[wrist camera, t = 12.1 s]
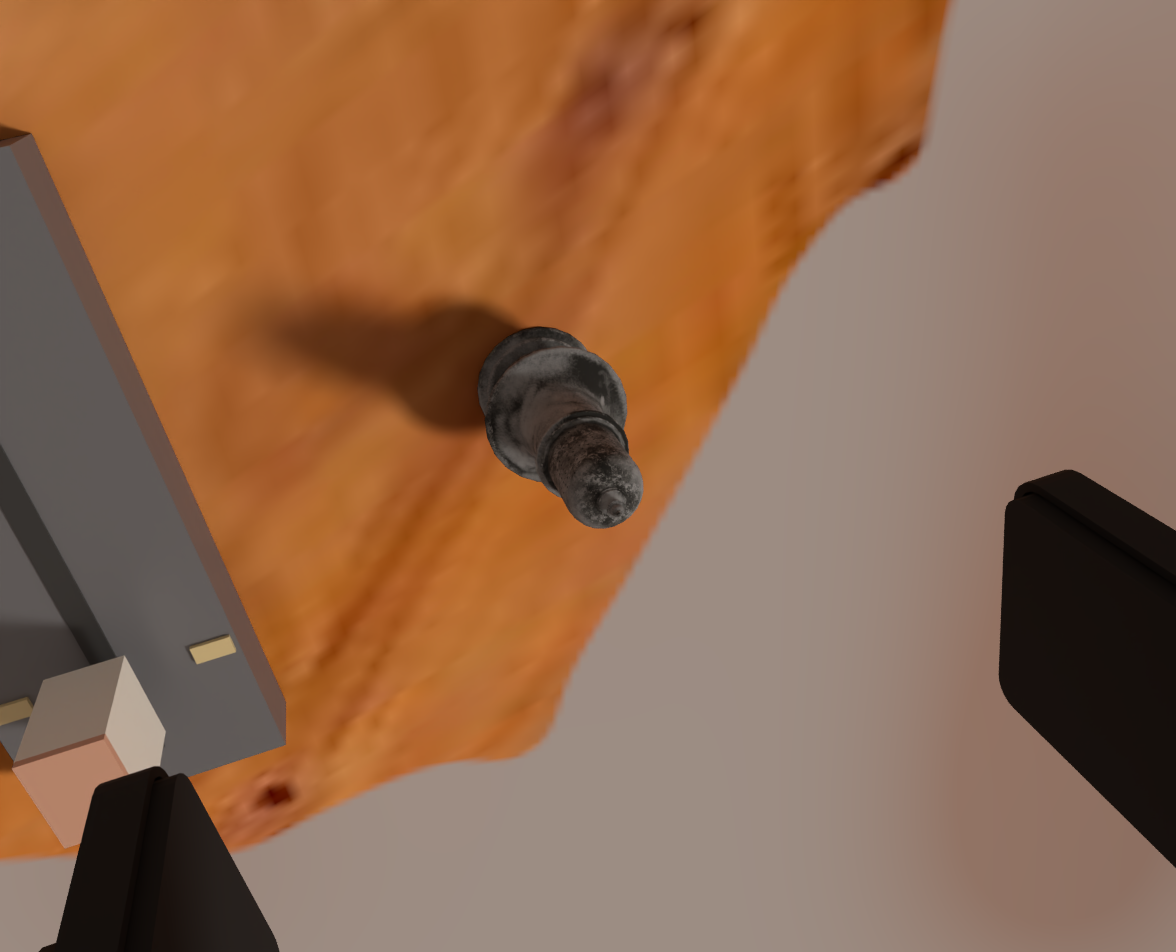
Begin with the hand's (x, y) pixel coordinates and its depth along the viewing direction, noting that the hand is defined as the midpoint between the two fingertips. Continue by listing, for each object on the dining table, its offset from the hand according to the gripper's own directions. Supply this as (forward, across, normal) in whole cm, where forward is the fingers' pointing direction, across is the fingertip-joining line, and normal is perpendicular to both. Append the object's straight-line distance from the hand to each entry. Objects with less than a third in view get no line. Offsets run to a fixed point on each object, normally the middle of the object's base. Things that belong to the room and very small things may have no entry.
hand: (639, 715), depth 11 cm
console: (+30, +16, +8) cm, 35 cm away
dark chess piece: (+31, -4, +9) cm, 32 cm away
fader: (+27, +16, +15) cm, 35 cm away
